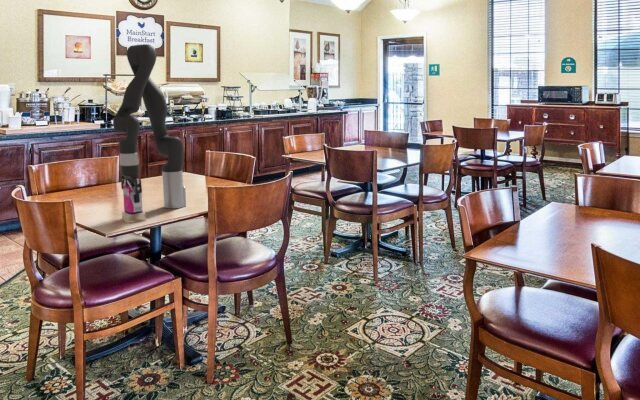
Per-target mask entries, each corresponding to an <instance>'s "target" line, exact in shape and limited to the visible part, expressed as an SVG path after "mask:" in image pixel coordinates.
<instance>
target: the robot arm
mask: <svg viewBox="0 0 640 400" xmlns="http://www.w3.org/2000/svg"><path fill="white" fill-rule="evenodd" d="M126 58H127V61H128V63H129V66H130V69H131V71H132V74H133V75H134V77H133V78H132V79H131V81H130V82H129V83H128V85H127V87H126V89H125V90H124V94H123V99H122V103H121V105H120V106H119V108H118V110H117V112H116V114H115V115H114V117H113V120H112V121H113V122H112V126H113V129H114V131H116V132H118V133H126V137H125V138H121V139H119V141H118V147H119V149H118V150H119V166H120V167H119V168H120V184H121V187H120V188H121V190H123V186H129V187H130V189H131V190H132V191H133V193H134V203H139V202H140V197H139V194H140V193H142V194H143V187H142V186H143V185H142V179H141V178H137V176H138V175H140V162H139V161H140V160H139V155H138V145H137V144H138V137H139V133H140V129H141V128H140V127H141V125H140V120H139V118H138V117H136V116H135V115H133V114H135V113H138V112H139V110H140V107H141V102H142V100H143V104H144V107H145V111H146V112H147V115H148V119H149V121H150V122H149V123H150V125H151V129H152V133H153V139H154V142H155V146H156V150H157V152H158V153H159V155H161V156H164V157H168V158H167V162H166V163H163V164H162V166H161V175H162V192H163V207H164V208H165V209H180V208H184V207H186V206H187V197H186V196H187V195H186V186H185V185H184V177H183V176H184V175H183V167H184V157H185V155H184V143H183V141H182V138H180V137H178V136H170V135H169V134H168V131H167V127H166V119H167V117H168V116H167V115H168V105H167V101H166V97H165V95H164V93H163V91H162V90H161V88H160V87H159V86H158V85H157V84H156V83H155V82H154V80H153V79H152V78H151V74H152V71H153V70H154V66H155V65H156V61H157V51H156V49H155V48H154V46H153V45H151V44H136V45H135V44H134V45H130V46H129V47H128V48H127V50H126Z"/></svg>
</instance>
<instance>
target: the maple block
mask: <svg viewBox="0 0 640 400" xmlns="http://www.w3.org/2000/svg"><path fill="white" fill-rule="evenodd" d="M121 217H122V220H123V222H125V223H126V224H129V223H137V222H138V223H139V222H143V221H144V222H145V221H146V219H147V216H146V212H145V211H143V212H141V213H134V214H129V213H127V212H124V211H122V212H121Z"/></svg>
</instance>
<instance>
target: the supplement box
mask: <svg viewBox="0 0 640 400" xmlns="http://www.w3.org/2000/svg"><path fill="white" fill-rule="evenodd" d="M122 190H123V191H122V192H123V209H124V210H123V212H127V213H129V214H134V213H141V212H144V211H143V192H142V193H140V194H139V197H140V202H139V203H134V193H133V191H132V190H131V189H130V187H129V186H123V189H122Z"/></svg>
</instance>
